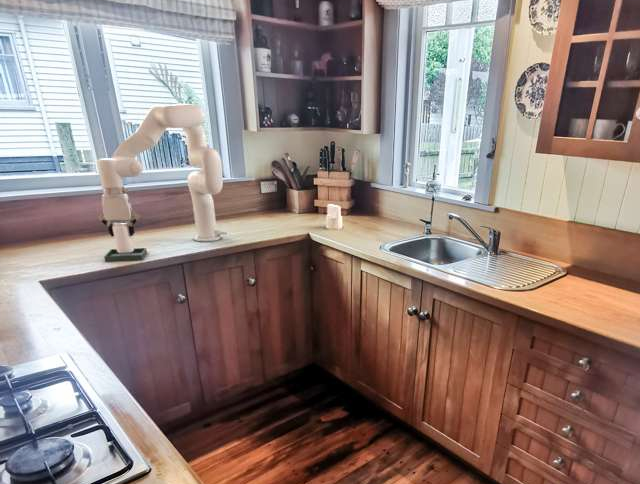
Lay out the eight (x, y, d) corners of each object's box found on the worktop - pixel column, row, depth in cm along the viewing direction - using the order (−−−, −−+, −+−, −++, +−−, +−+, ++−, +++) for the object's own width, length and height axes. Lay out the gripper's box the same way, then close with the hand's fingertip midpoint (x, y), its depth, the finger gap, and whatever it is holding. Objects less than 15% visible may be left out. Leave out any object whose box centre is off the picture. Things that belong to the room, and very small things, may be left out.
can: (127, 254, 193) (121, 225, 188) (113, 252, 194) (107, 224, 189) (137, 250, 199) (132, 222, 194) (124, 248, 200) (118, 221, 195)
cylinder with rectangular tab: (322, 226, 259) (322, 204, 254) (335, 224, 264) (335, 203, 259) (332, 230, 253) (332, 207, 247) (345, 227, 258) (345, 206, 253)
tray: (146, 252, 204) (146, 248, 203) (142, 259, 194) (141, 255, 193) (111, 254, 200) (110, 249, 199) (105, 261, 191) (104, 256, 190)
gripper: (139, 189, 191) (146, 232, 199) (92, 190, 187) (101, 234, 195) (135, 192, 185) (143, 237, 192) (86, 193, 180) (97, 238, 188)
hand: (122, 235), depth 193 cm, fingers closed on can, 6 cm apart
